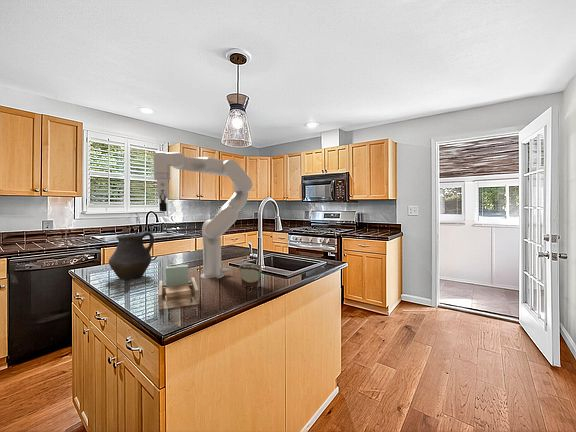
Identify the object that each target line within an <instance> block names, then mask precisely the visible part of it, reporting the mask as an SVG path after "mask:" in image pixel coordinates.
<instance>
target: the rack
mask: <svg viewBox="0 0 576 432" xmlns="http://www.w3.org/2000/svg"><path fill="white" fill-rule="evenodd" d="M158 282H159V283H158V294H157V297H158V310H166V309H171V308H179V307H185V306H187V307H188V306H193V305H199V304H200V299H199V297H200V293H199V292H200V290H199V288H198V284H197V282H196V280H195V277H194V276H192V277H190V281H188V282H189V284H188V285H189V288H190V289H191V302H186V303H180V304H173V305H167V306H166V301H165V296H166V292H165V288H172V287H179V286H171V287H166V283H165V284H163V280H159V281H158ZM180 286H187V285H180Z"/></svg>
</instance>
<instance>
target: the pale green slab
mask: <svg viewBox="0 0 576 432" xmlns="http://www.w3.org/2000/svg"><path fill="white" fill-rule="evenodd" d="M189 282H190V281H189V265H188V264H184V265H183V264H182V265H173V266H165V284H166V287H171V286H180V285H188V284H189Z"/></svg>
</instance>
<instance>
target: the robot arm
mask: <svg viewBox="0 0 576 432" xmlns="http://www.w3.org/2000/svg"><path fill="white" fill-rule="evenodd" d="M171 167H172V168H174V169H177V170H179V171H181V170H182V171H187V172H188V171H189V172H194V173H201V174H208V175H216V176H222V177H228V178H229V179H230V180H231V181H232V182H233V183H232V186H233V195H232V196H231V197H230V198H229V199H228V200H227V201H226V202H225V203H224V204H223V205H221V206H220V208H219V209H217V213H216V215H215V216H214V217H213V218H212V219H211V218H209V219H207V220H205V221H204V222H203V224H202V227H201V233H202V264H203V265H202V266H203V269H202V270H203V273H201V274H200V279H210V278H216V279H218V280H219V279H221V278H223V277H225V273H230V272H231V269H230V268H223V267H222V241H221V236H223V235H224V234H225V233H226V232H227V231H228V230H229V229H230V227H232V225H234V223H236V221H237V220H238V218H239V212H240V211H241V210H242V209H243V208H244V206H245V205H246V204H247V202H248V199H249V192H250V191H251V190H252V188H253V181H252V179H251V177H250V176H249V175H248V174H247V173H246V171H245V170H244V169H243V168H242V167H241V165H240V164H239V163H238V162H237V161H236V160H234V159H227V160H225V159H219V158H214V157H209V156H208V157H207V156H203V157H190V156H186V155H185V154H183V153H182V152H180V151H179V152H178V151H177V152H164V151H156V152H154V153H153V178H154V181H156V188H157V189H156V190H157V197H158V199H159V212H167V210H168V204H167V200H169V199H170V189H169V188H170V187H169V186H170V185H169V181H171Z"/></svg>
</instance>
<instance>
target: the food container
mask: <svg viewBox="0 0 576 432" xmlns="http://www.w3.org/2000/svg"><path fill="white" fill-rule="evenodd" d="M238 267H239V268H238V271H239V275H240V282H241V283H240V284H241V286H242V285H243V286H242V287H246V286H251V287H250V288H253V287H259V288H260V287H261V286H260V284H261V275H262V274H261V273H262V272H263V268H262V267H263V266H262V265H259V264H255V263H246V264H240V265H239V266H238Z"/></svg>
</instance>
